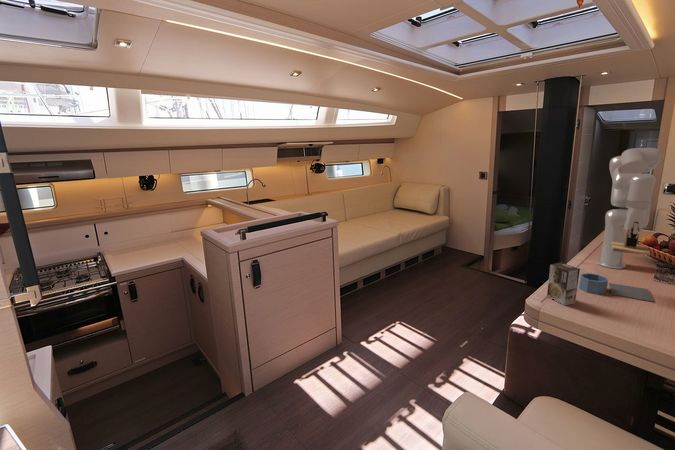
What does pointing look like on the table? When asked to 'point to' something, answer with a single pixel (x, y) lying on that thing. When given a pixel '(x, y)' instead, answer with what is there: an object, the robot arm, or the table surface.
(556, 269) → the coffee box
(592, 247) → the table surface
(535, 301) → the table surface
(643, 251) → the oak lid
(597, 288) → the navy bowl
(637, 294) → the charcoal mat
